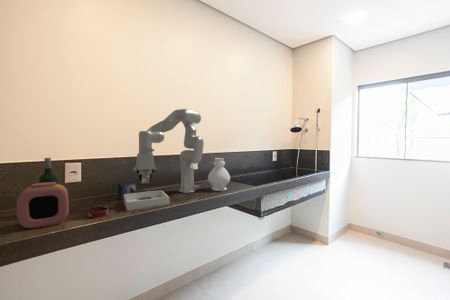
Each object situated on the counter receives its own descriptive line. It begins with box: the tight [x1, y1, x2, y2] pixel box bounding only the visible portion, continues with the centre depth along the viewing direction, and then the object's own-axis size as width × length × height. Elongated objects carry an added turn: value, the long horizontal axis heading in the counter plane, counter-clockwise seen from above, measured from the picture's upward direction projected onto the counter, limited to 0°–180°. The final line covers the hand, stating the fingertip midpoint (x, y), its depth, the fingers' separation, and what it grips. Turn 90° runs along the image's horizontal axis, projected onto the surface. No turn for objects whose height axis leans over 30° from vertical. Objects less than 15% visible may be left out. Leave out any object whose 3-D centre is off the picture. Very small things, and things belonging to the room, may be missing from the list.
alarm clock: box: [16, 182, 70, 229], centre depth 106 cm, size 18×11×19 cm, turn 126°
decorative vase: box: [207, 157, 231, 192], centre depth 180 cm, size 18×18×25 cm
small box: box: [117, 181, 137, 201], centre depth 152 cm, size 11×6×10 cm, turn 129°
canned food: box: [86, 200, 109, 219], centre depth 119 cm, size 11×10×10 cm
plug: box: [140, 170, 151, 184], centre depth 139 cm, size 4×4×7 cm
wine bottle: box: [38, 157, 59, 184], centre depth 120 cm, size 8×8×30 cm
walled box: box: [123, 189, 170, 212], centre depth 140 cm, size 24×20×5 cm
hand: (145, 180), depth 139 cm, fingers closed on plug, 4 cm apart
